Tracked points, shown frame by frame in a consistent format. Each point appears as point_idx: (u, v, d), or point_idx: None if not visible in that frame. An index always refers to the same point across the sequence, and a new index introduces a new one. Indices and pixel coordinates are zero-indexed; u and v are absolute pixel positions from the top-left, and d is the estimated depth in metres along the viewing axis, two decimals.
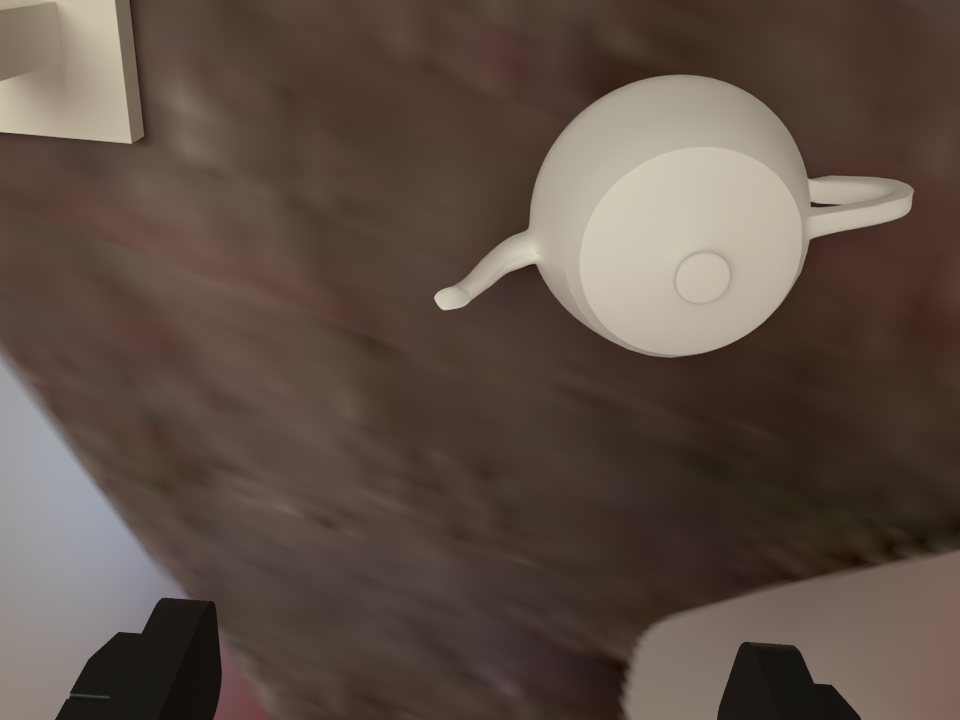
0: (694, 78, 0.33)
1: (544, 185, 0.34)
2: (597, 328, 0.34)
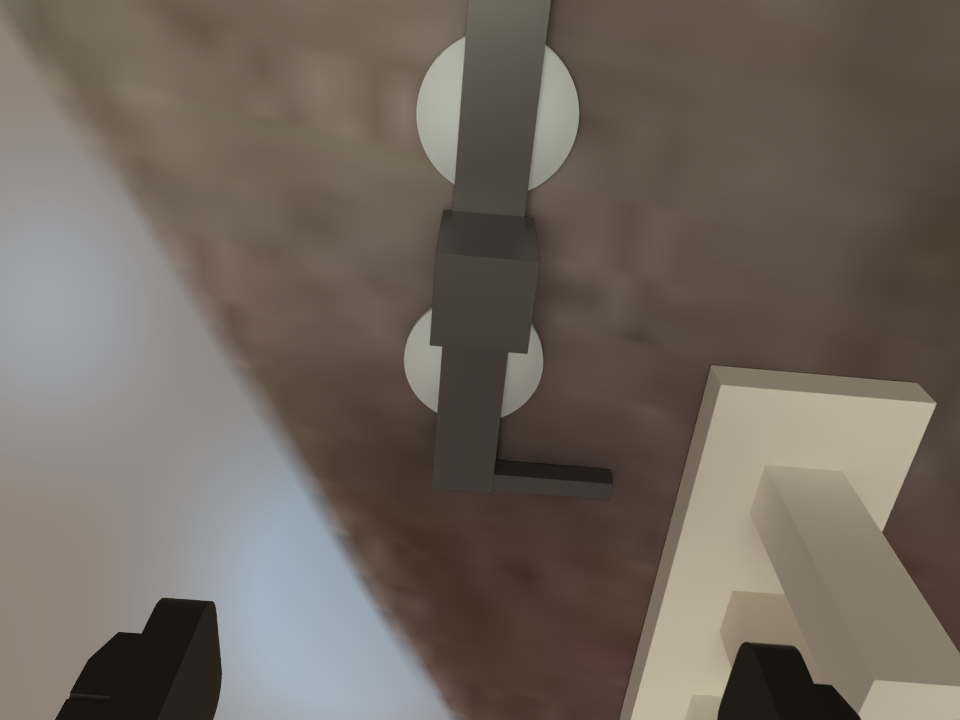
0: None
1: None
2: None
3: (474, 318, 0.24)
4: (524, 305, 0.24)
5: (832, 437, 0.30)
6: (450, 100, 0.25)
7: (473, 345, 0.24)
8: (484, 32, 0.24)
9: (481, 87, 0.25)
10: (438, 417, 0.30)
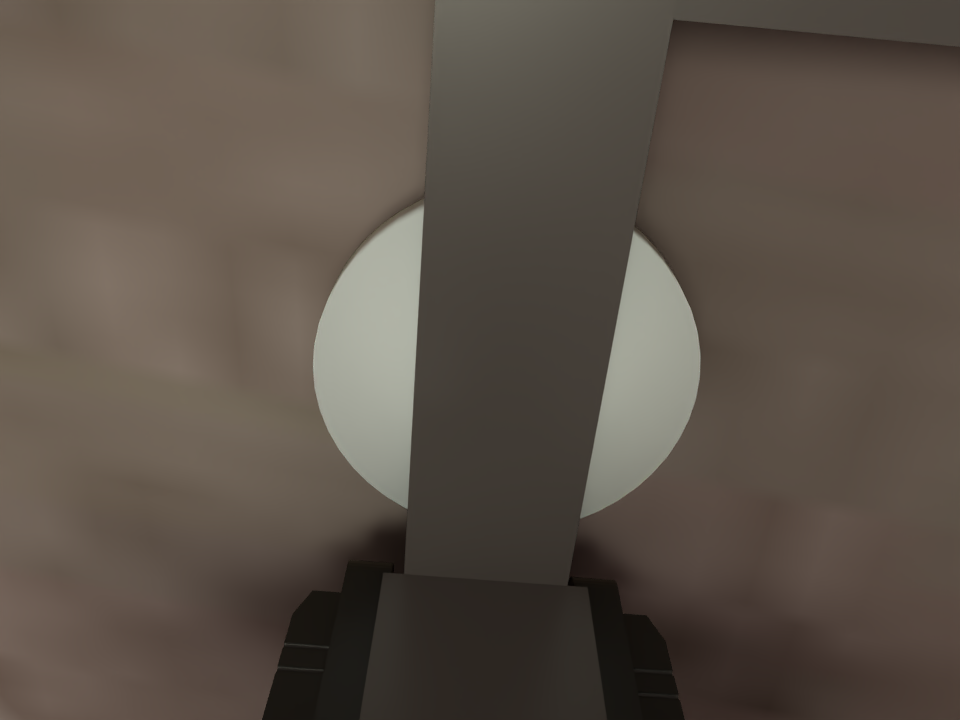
0: None
1: None
2: None
3: None
4: None
5: None
6: (392, 348, 0.11)
7: None
8: (472, 210, 0.09)
9: (466, 334, 0.10)
10: None
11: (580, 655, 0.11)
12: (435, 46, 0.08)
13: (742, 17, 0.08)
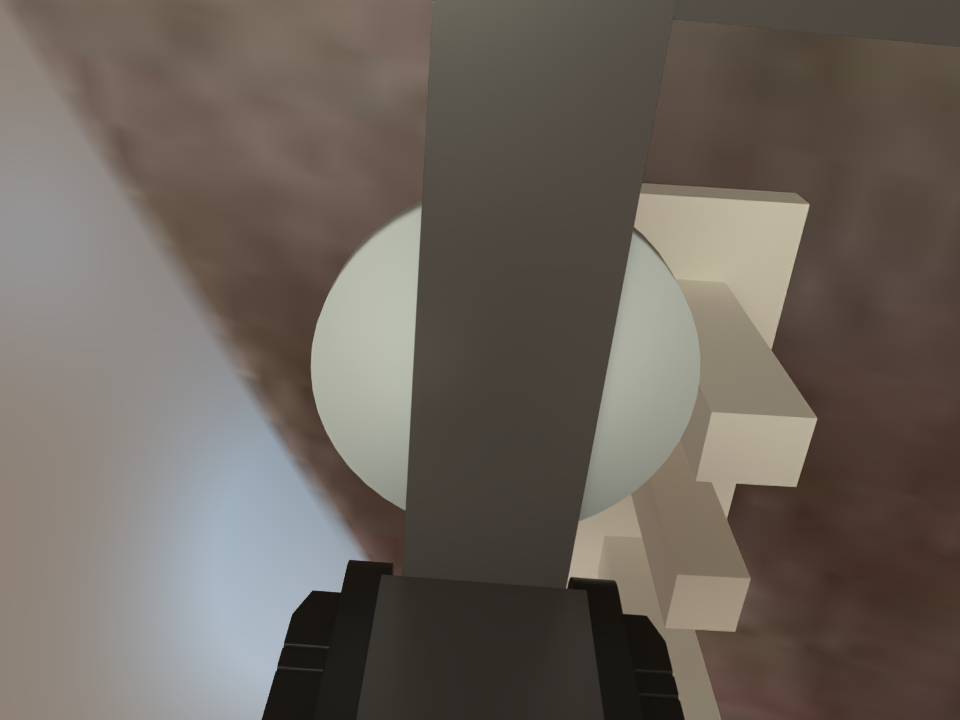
0: None
1: None
2: None
3: None
4: None
5: (711, 244, 0.31)
6: (390, 349, 0.10)
7: None
8: (470, 211, 0.09)
9: (464, 336, 0.10)
10: None
11: (578, 658, 0.11)
12: (433, 46, 0.08)
13: (743, 17, 0.08)
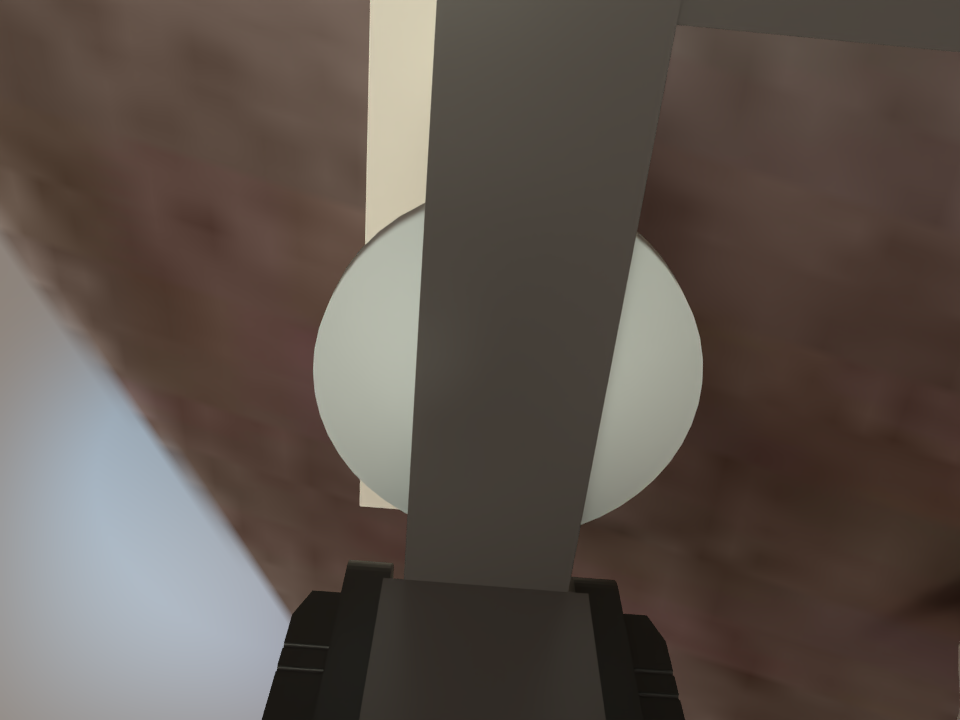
0: None
1: None
2: None
3: None
4: None
5: None
6: (393, 353, 0.10)
7: None
8: (473, 216, 0.09)
9: (467, 340, 0.10)
10: None
11: (580, 662, 0.11)
12: (436, 51, 0.08)
13: (746, 23, 0.08)
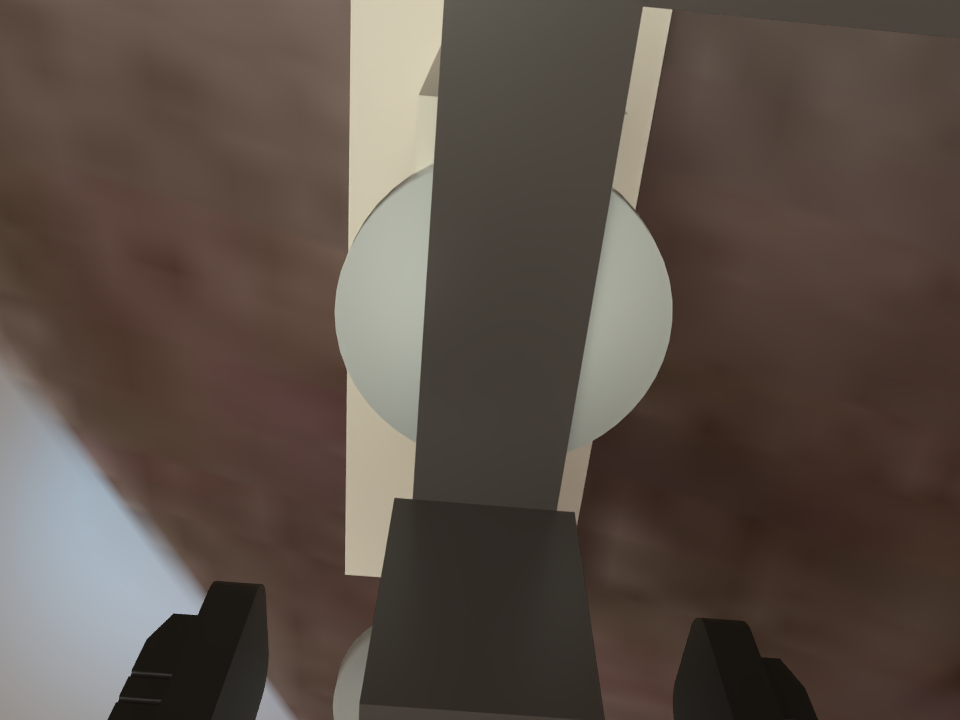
0: None
1: None
2: None
3: None
4: None
5: None
6: (404, 294, 0.12)
7: None
8: (474, 169, 0.11)
9: (468, 279, 0.11)
10: None
11: (567, 563, 0.12)
12: (444, 28, 0.10)
13: (702, 5, 0.10)
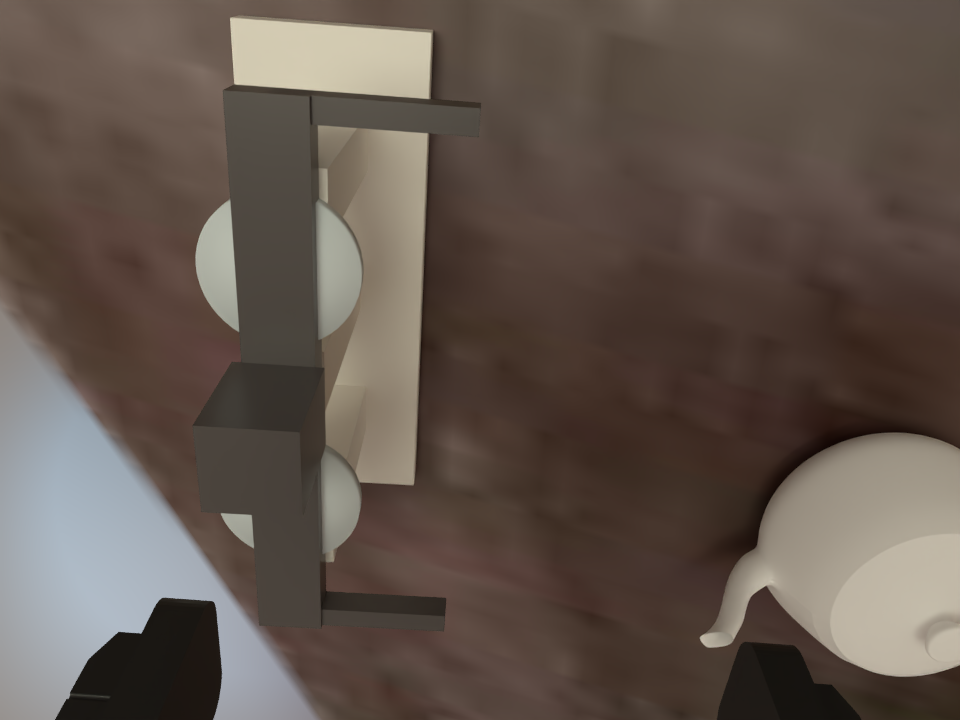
0: (918, 446, 0.39)
1: (783, 528, 0.40)
2: (834, 652, 0.40)
3: (243, 485, 0.23)
4: (291, 472, 0.23)
5: (348, 74, 0.33)
6: (228, 256, 0.25)
7: (246, 511, 0.24)
8: (248, 196, 0.24)
9: (253, 247, 0.24)
10: (256, 557, 0.30)
11: (309, 385, 0.25)
12: (226, 135, 0.23)
13: (337, 124, 0.23)
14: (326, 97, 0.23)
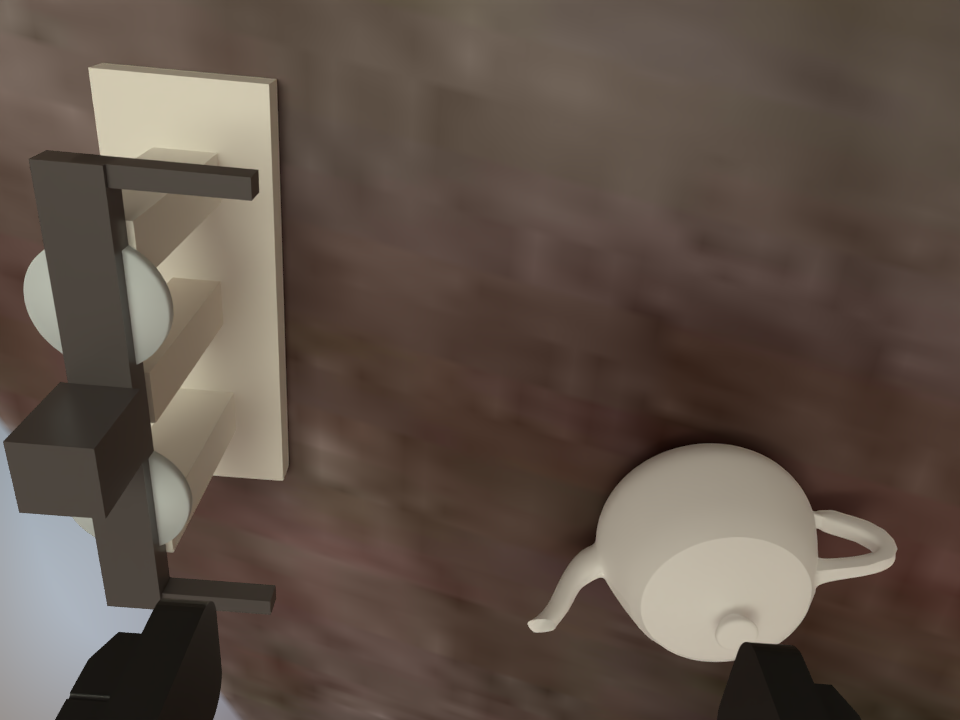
0: (728, 457, 0.43)
1: (610, 527, 0.44)
2: None
3: (51, 491, 0.28)
4: (91, 481, 0.27)
5: (197, 118, 0.37)
6: (52, 293, 0.29)
7: (57, 512, 0.28)
8: (59, 245, 0.28)
9: (68, 287, 0.28)
10: (98, 547, 0.34)
11: (120, 405, 0.29)
12: (36, 196, 0.27)
13: (130, 187, 0.27)
14: (119, 166, 0.26)
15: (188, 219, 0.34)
